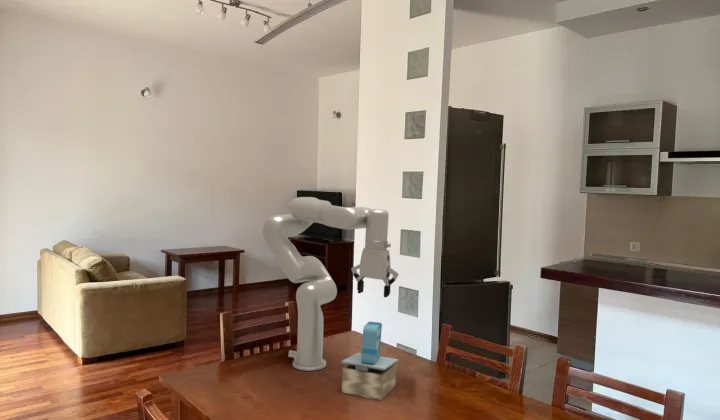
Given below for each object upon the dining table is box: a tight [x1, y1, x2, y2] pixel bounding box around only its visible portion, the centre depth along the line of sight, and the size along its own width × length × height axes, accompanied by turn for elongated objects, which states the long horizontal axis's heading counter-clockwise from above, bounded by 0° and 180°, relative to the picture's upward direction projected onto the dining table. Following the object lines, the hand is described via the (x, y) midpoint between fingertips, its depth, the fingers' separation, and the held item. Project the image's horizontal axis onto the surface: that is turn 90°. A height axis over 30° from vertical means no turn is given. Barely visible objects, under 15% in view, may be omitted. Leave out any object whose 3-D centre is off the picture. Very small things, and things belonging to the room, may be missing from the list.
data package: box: [361, 321, 383, 364], centre depth 170 cm, size 12×4×12 cm, turn 169°
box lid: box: [341, 352, 399, 371], centre depth 170 cm, size 15×15×2 cm
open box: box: [341, 361, 398, 401], centre depth 170 cm, size 14×14×8 cm
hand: (373, 294), depth 175 cm, fingers open, 9 cm apart
